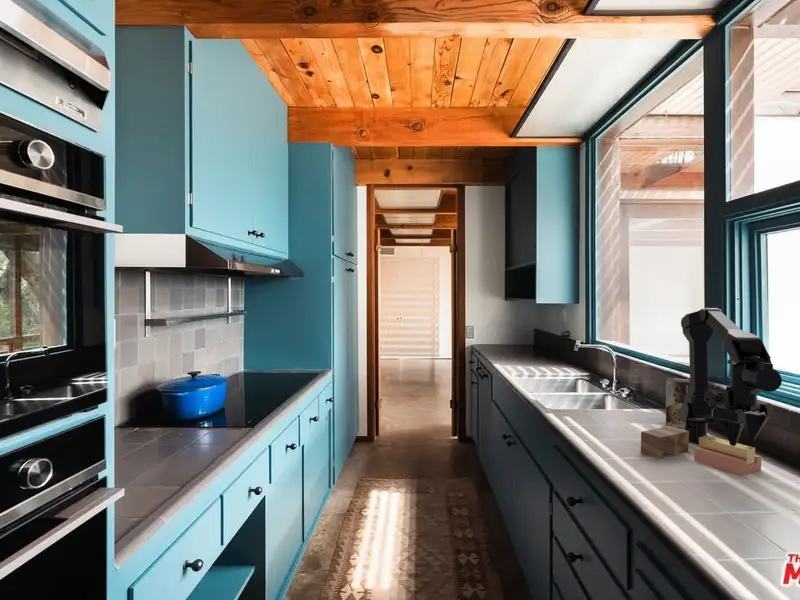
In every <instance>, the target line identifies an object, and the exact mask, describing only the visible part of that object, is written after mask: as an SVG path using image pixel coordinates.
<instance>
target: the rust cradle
mask: <svg viewBox="0 0 800 600" xmlns="http://www.w3.org/2000/svg"><path fill="white" fill-rule="evenodd" d="M693 449H694V451H693V461H695V462H697V461H698V463H701V464H704V465H707V466H710V467H713V468H717V469H719V470H720V469H721V470H723V471H726V472H729V473H733V474H736V475H739V476H745V475H748V473H749V474H752V473H754V471H755V472H758V471H761V470H760V469H762V455H758V454H755V463H753V464H750V465H747V461H746V460H743V459H739V458H736V457H732V456H729V455H725V454H722V453H718V452H715V451H711V450H708V449H704V448H701V447H699V446H697V447H693ZM757 470H758V471H757ZM751 472H752V473H751Z"/></svg>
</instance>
